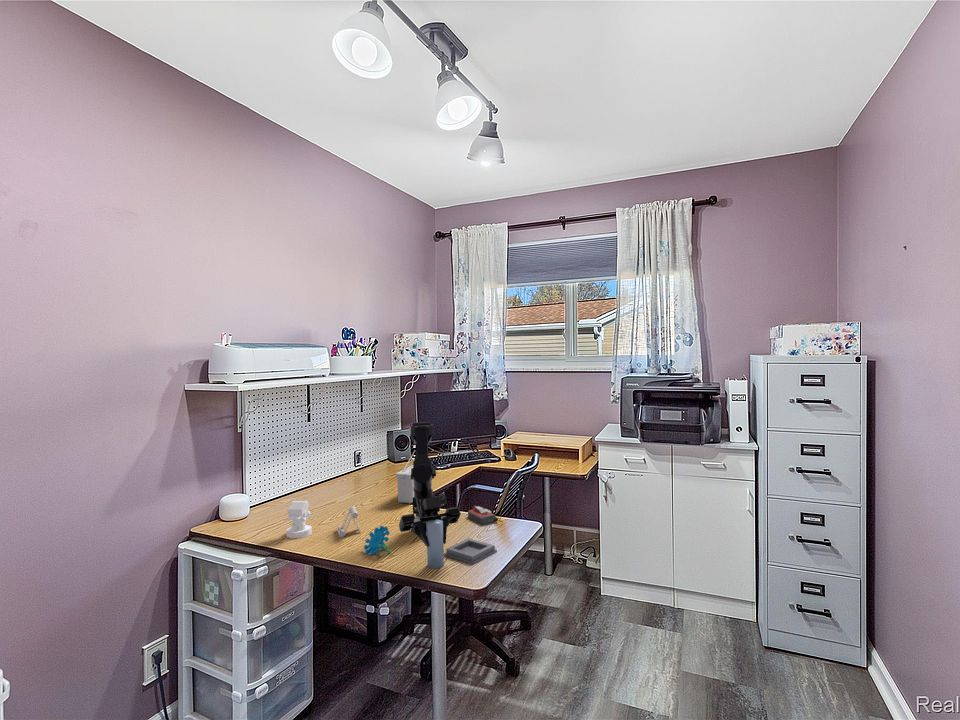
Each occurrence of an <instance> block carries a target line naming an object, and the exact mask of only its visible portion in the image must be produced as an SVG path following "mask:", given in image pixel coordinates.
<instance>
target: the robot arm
mask: <svg viewBox="0 0 960 720" xmlns="http://www.w3.org/2000/svg"><path fill="white" fill-rule="evenodd" d="M432 435H434V424H432V423H431V422H430V421H418V422H417V421H416V422H414V423H413V424H412V425H410V436H412V439H413V441H414V442H415V444H416V458H414V460H413V461H412V465H413V468H411V480H413V483H414V488H413V490H414V497H413V502H412V513H408V514H402V515H401V516H400V517H401V518H400V520H399V523H398V526H399V527H398V528H399V531H400V532H401V533H402V532H411V533H413V534H415V535H416V536H417V537H418V538H419V539H420V540H421V541H422V543H423V544H424V545H425V546H426V548H427V547H428V546H429V543H428V539H427V530H426V522H427V521H430V520H441V521H443V545H445V544H446V543H447V530H448V527H449V526H450V525H451V524H456V523H458V521H459V519H460V517H461V514H462V513H461V510H460V508H459V507H458V506H454V507H448V508H446V509H445V512H444V513H440V511H441V508H442V506H443V505H446V504H447V497H446V494H445V493H438V494H437V496H436V495H434V490H433V489H432V485H433V484H432V481H433V479H435V477H437V470H436V469H435V467H434V466H433V463H432V459H431V458H430V457H429V444H430V442H431V441H432V437H433V436H432Z"/></svg>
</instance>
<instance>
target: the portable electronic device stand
mask: <svg viewBox="0 0 960 720" xmlns="http://www.w3.org/2000/svg"><path fill="white" fill-rule="evenodd" d="M348 518H349V519H348ZM357 518H359V513H358V512H357V509H356V507H355V506H353V505H352V506H350V507H349V509H348V511H347V514H346V515H345V518H344V521H343V524H342V525H341V526H340V525H339V524H337V527H336V528H337V533H338V537H339V538H341V539H342V538H344V537H345V536H346V533H347V531H348V528H349V526H350V523H351V520H352V519H353V521H354V523H355V526H356V528H357V530H358V531H359V534H361V532H362V531H361V529H360V527H359V525H358V524H357V521H356V519H357ZM347 521H348V522H347ZM346 522H347V523H346ZM345 525H346V526H345ZM344 527H345V528H344Z"/></svg>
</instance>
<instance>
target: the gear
mask: <svg viewBox="0 0 960 720" xmlns="http://www.w3.org/2000/svg"><path fill="white" fill-rule="evenodd" d="M373 530H374V532H372V531H371V532H370V533H369V534H368V537H370V539H369V538H366V539H365V540H364V542H365V544H364V545H363V549H364V550H365V554H367V555H368V554H369V555H371V556H373V555H375V554H379V553H380V550H381V549H382V551H383V552H388V553H389V554H392V551H391V550H390V549H389V546H388V545H387V544H386V543H387V542H388V541H389V540H390V538H389V537H388V536H389V535H390V533H391V532H390V531H389V528H388V527H387V526H384V525H380V526H379V528H378V527H376V528H374V529H373ZM385 542H386V543H385Z"/></svg>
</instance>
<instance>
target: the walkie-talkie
mask: <svg viewBox="0 0 960 720" xmlns="http://www.w3.org/2000/svg"><path fill="white" fill-rule="evenodd" d="M467 518H468V519H470V520H473V521H474V522H476V523H478V524H480V525H483V526H484V525H488V524H492V523H496V522H498V521H499V518H498V517H496V514H494V513H492V510H489V509H487V508H484V507H482V506H480V505H478V506H477V505H473V508H472V509H469V510H468V511H467ZM495 521H496V522H495Z"/></svg>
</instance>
